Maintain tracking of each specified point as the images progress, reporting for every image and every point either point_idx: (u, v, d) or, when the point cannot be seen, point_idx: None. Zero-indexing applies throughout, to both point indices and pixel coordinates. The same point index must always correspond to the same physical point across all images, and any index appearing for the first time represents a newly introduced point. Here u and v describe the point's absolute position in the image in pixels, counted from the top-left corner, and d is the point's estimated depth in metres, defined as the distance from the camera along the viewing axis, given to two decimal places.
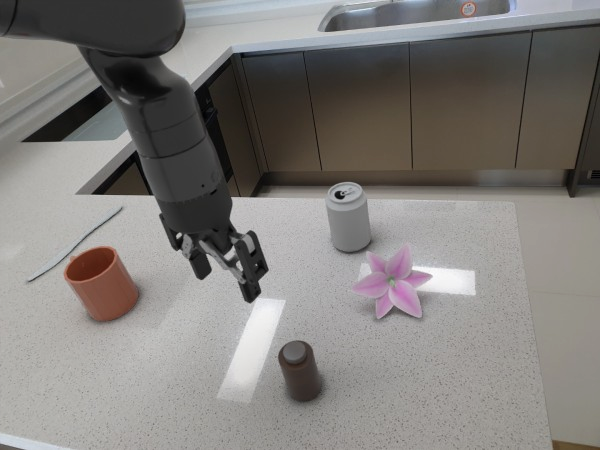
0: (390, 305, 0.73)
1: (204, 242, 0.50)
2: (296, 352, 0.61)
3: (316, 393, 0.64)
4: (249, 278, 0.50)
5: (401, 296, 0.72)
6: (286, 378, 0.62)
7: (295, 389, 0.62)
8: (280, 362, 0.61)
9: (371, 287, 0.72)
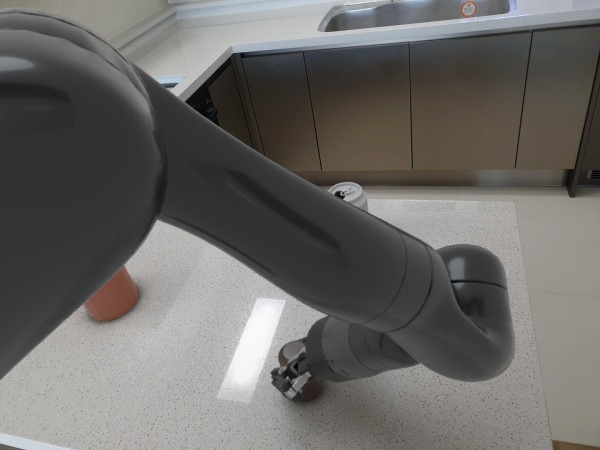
0: None
1: (304, 351, 0.55)
2: (296, 352, 0.61)
3: (316, 393, 0.64)
4: (275, 379, 0.57)
5: None
6: None
7: None
8: (280, 362, 0.61)
9: None
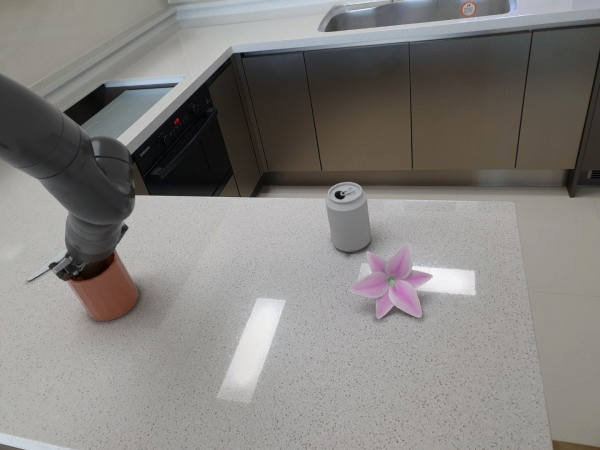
0: (390, 305, 0.73)
1: None
2: None
3: None
4: None
5: (401, 296, 0.72)
6: None
7: None
8: None
9: (371, 287, 0.72)
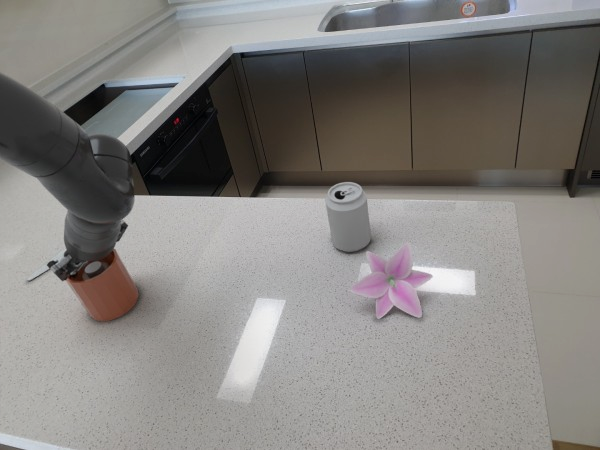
0: (390, 305, 0.73)
1: None
2: (93, 268, 0.81)
3: None
4: None
5: (401, 296, 0.72)
6: None
7: None
8: (83, 276, 0.82)
9: (371, 287, 0.72)
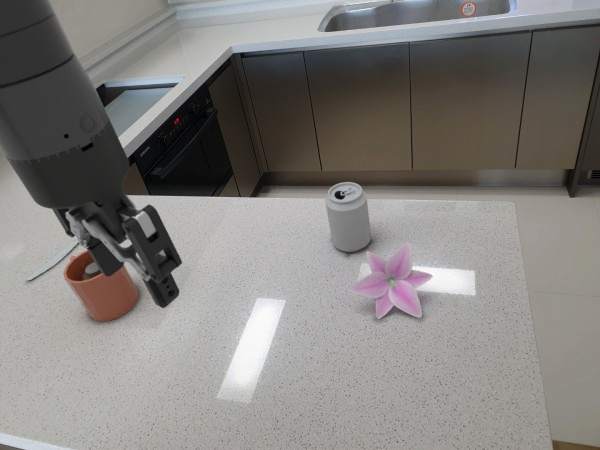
0: (390, 305, 0.73)
1: (88, 222, 0.36)
2: (94, 268, 0.81)
3: None
4: (151, 273, 0.36)
5: (401, 296, 0.72)
6: None
7: None
8: (83, 276, 0.82)
9: (371, 287, 0.72)
